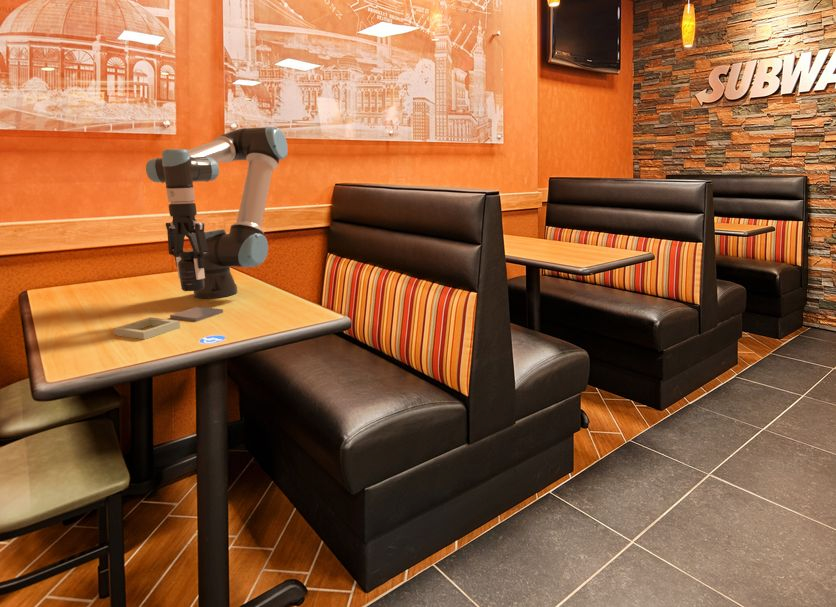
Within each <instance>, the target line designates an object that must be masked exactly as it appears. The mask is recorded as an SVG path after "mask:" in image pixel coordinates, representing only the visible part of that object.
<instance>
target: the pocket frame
mask: <svg viewBox="0 0 836 607" xmlns="http://www.w3.org/2000/svg"><path fill="white" fill-rule="evenodd" d="M147 326H148V327H150V326H152V327H151V328H148V329H145V330H143V329H144V328H147ZM180 328H181V325H180V320H177V319H166V318H160V317H159V318H158V317H151V316H150V317H146V318H144V319H141V320H137V321H134V322H131V323H126V324H123V325H120V326H117V327H114V328H113V331H114V336H118V337H126V338H131V339H137V338H138V339H139V340H144V339H145V340H148V339H150V337H151V338H153V336H154V337H156V335H157V336H160V335H163V334H165V332H166V333H168V331H169V332H171V331H174V330H177V329H180ZM162 333H163V334H162ZM159 334H160V335H159ZM147 338H148V339H147Z"/></svg>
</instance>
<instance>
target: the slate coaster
mask: <svg viewBox="0 0 836 607" xmlns="http://www.w3.org/2000/svg"><path fill="white" fill-rule="evenodd" d="M223 313H224V309H221V308H214V307H213V308H212V307H204V306H195V307H191V308H188V309H185V310H183V311H178V312H176V313H173V314H170V315H169V318H170V319H171V320H179V321H180V320H181V321H189V322H198V321H202V320H205V319H207V318H211V317H214V316H216V315H219V314H223Z"/></svg>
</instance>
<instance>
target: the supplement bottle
mask: <svg viewBox="0 0 836 607" xmlns="http://www.w3.org/2000/svg"><path fill="white" fill-rule="evenodd" d="M194 257H195V254H194V251H193V249H185V250H184V249H183V251H180V258H181V260H180V261H179V262H178V269H177V271H178V270H179V276H180V278H179V282H180V289H181V290H182V291H183V292H194V291H196V290H201V289H203V288H204V287H205V284H204V278H203V279H199V280H196V272H195V265H194Z"/></svg>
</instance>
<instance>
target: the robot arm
mask: <svg viewBox="0 0 836 607" xmlns="http://www.w3.org/2000/svg"><path fill="white" fill-rule="evenodd" d="M288 150H289V148H288V141H287V139H286V136H285V134H284V132H283V131H282V129H280V128H278V127H276V126H264V127H263V126H262V127H246V128H245V127H244V128H242V127H241V128H237V129H235V130H232V131H229V132H226V133H224V134H222V135H218V136H216V137H215V138H214V139H213V140H212V141H210V142H207V143H204V144H200V145H198V146H195V147H192V148H189V149H184V148H181V149H180V148H170V149H169V148H168V149H167V148H166V149H164V150H162V152H161V158H160V157H155V158H151V159H149V160H148V161H147V162H146V165H145V173H146V175H147V177H148V179H149V180H150V181H152V182H154V183H162V184H164V183H165V188H166V189H165V190H166V196H167V202H168V203H169V204H168V212H169V216H170V217H171V218H172V221H171V222H165V228H166V231H167V232H166V233H167V247H168V254H169V255H171V256H173V257H174V261H175V266H176V268H177V274H178V275H177V276H178V279H180V276H179V270H178V262H179V261H180V260H181V258H180V251H184V243H185V239H186V238H188V241H189V243H190V247H191V248H192V249H191V250H193V251H194V254H195V257H194V265H195V272H196V280H199V279H203V278H204V284H205V287H204V288H203V289H201V290H196V291H193V297H194V298H195V299H196V298H197V299H217V298H225V297H229V296H234V295H235V294H238V286H237V284H236V283H235V279H234V277H233V274H232V273H231V267H233V268H234V267H237V268H247V269H248V268H254V267H259V266H260V265H262V264H263V263H264V262H265V260H266V258H267V256H268V254H269V253H268V252H269V245H268V239H267V237H266V236H265V232H264V231H263V229H262V224H263V219H264V215H265V209H266V205H267V201H268V195H269V191H270V185H271V180H272V176H273V172H274V171H273V170H276V169H277V168H278V167H279V162H280V160H284V159H286V158H287V156H288ZM234 161H246V162H247V163H248V168H247V172H246V177H245V181H244V185H243V189H242V195H241V199H240V200H241V201H240V202H239V203H240V204H239V207H238V208H239V209H238V214H237V218H236V222H235V223H232V224H231V225H230V229H229V233H227V232H226V230H225V229H224V228H222V229H216V230H210V231H205V223H204V222H198V221H197V219H196V215H197V214H198V213H197V206H196V203H195V202H194V201H196V196H195V189H194V183H195V182H196V183H197V182H198V183H199V182H207V183H208V182H211V181H214V180H216V179H217V178H218V176H219V173H220V166H219V163H230V162H234ZM185 237H186V238H185Z"/></svg>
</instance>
